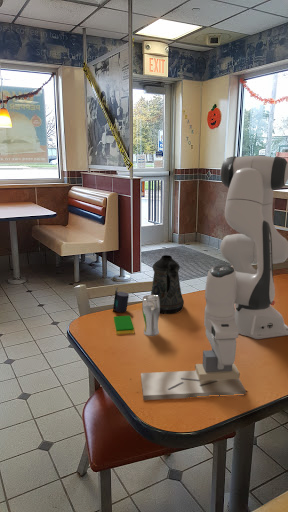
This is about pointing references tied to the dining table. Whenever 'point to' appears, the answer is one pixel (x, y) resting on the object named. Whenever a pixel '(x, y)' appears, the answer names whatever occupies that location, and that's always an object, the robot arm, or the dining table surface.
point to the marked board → (185, 385)
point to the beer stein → (167, 285)
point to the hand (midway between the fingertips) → (217, 363)
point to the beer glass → (151, 314)
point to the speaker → (120, 301)
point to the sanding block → (215, 368)
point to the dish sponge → (123, 325)
